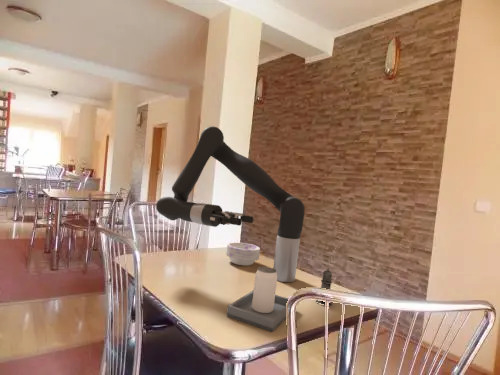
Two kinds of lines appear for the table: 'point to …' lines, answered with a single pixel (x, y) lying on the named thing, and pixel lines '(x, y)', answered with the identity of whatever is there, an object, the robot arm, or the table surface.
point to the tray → (265, 321)
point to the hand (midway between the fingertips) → (247, 221)
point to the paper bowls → (242, 253)
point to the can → (264, 290)
